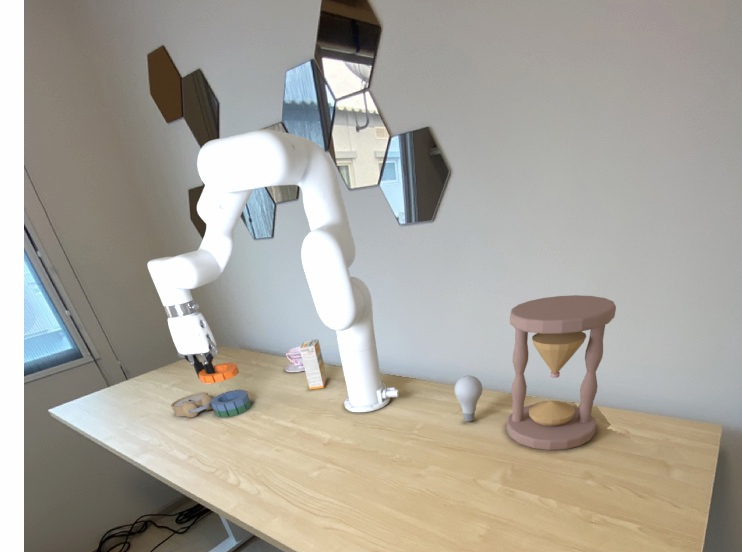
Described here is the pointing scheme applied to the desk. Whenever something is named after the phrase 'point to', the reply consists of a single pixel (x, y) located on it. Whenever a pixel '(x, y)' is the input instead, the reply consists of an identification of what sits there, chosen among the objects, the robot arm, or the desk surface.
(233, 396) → the ring stack
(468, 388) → the lightbulb
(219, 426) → the desk surface
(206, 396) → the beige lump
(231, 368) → the orange ring
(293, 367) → the teacup
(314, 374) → the supplement box
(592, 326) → the hourglass
